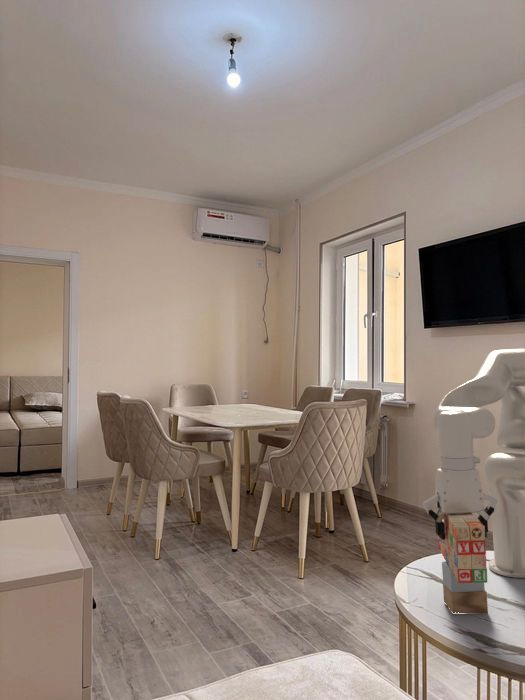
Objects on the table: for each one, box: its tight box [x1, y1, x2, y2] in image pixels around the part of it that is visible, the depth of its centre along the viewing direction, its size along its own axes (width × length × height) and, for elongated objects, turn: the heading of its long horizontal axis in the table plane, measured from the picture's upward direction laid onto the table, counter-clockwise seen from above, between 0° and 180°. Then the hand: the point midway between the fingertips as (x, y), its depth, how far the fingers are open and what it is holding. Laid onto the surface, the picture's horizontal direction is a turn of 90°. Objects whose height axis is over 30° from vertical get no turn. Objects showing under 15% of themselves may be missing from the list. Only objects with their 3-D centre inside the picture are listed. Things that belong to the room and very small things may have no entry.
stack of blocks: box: [437, 513, 488, 584], centre depth 124 cm, size 21×6×12 cm, turn 173°
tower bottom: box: [442, 582, 489, 615], centre depth 123 cm, size 8×6×5 cm
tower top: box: [441, 561, 486, 593], centre depth 124 cm, size 8×6×5 cm
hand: (462, 536), depth 124 cm, fingers open, 9 cm apart
